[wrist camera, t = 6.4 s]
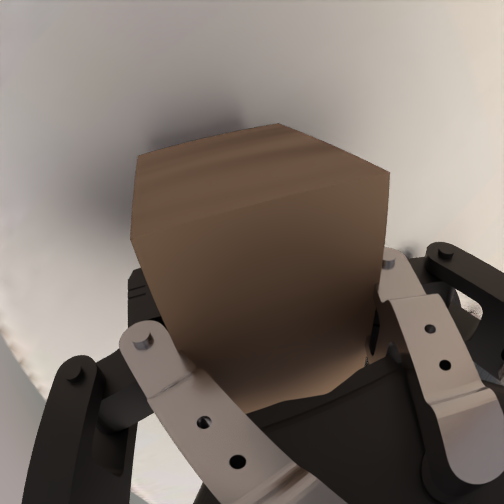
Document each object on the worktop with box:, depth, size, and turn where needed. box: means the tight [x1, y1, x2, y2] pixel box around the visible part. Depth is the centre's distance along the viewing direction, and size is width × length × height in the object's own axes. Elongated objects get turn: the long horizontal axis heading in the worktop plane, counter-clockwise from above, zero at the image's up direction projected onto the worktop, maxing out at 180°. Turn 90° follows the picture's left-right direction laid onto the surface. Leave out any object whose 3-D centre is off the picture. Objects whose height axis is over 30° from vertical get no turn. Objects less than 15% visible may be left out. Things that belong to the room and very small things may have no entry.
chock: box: [130, 123, 390, 414], centre depth 10 cm, size 8×5×6 cm, turn 9°
